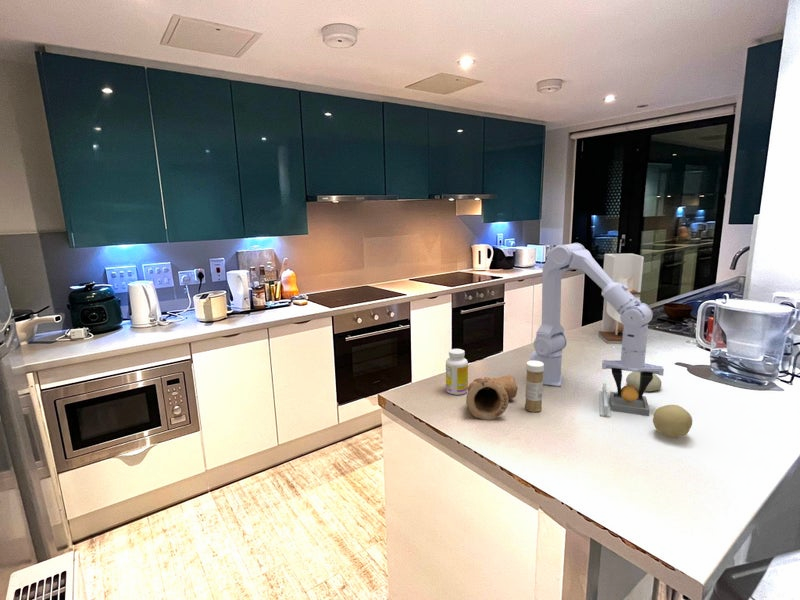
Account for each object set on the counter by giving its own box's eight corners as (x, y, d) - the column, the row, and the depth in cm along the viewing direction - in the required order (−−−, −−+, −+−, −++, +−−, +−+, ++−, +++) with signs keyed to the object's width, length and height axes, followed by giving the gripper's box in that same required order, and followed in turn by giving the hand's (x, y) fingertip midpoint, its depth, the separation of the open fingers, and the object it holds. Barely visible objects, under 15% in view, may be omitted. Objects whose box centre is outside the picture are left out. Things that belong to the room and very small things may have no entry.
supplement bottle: (470, 388, 132) (470, 349, 129) (464, 397, 126) (464, 355, 123) (449, 385, 134) (449, 346, 132) (442, 393, 129) (442, 353, 126)
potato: (690, 448, 97) (695, 415, 95) (650, 439, 101) (654, 408, 99) (689, 433, 103) (693, 402, 101) (652, 425, 107) (655, 395, 105)
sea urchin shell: (669, 388, 124) (650, 369, 124) (647, 404, 126) (628, 386, 126) (657, 376, 133) (639, 358, 132) (636, 391, 135) (618, 374, 135)
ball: (620, 403, 116) (621, 387, 115) (619, 396, 120) (620, 381, 119) (639, 405, 114) (640, 390, 113) (637, 399, 118) (639, 383, 117)
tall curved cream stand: (598, 335, 182) (604, 253, 175) (624, 336, 180) (632, 253, 173) (607, 343, 171) (614, 256, 164) (635, 344, 169) (643, 256, 162)
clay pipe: (453, 417, 121) (478, 425, 107) (447, 380, 122) (471, 383, 108) (510, 404, 127) (541, 411, 113) (504, 369, 128) (534, 371, 114)
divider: (600, 416, 112) (601, 405, 112) (599, 392, 127) (600, 382, 126) (610, 417, 111) (611, 406, 111) (608, 393, 126) (609, 384, 125)
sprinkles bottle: (533, 403, 120) (535, 358, 117) (545, 410, 116) (547, 363, 113) (521, 407, 118) (522, 361, 116) (532, 414, 114) (534, 366, 112)
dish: (610, 410, 115) (611, 404, 115) (609, 397, 123) (610, 391, 123) (649, 416, 112) (649, 410, 111) (645, 401, 120) (645, 396, 119)
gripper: (604, 350, 113) (600, 397, 116) (667, 356, 108) (662, 406, 110) (603, 342, 120) (600, 387, 122) (663, 348, 114) (658, 395, 117)
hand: (629, 395), depth 117 cm, fingers closed on ball, 4 cm apart
